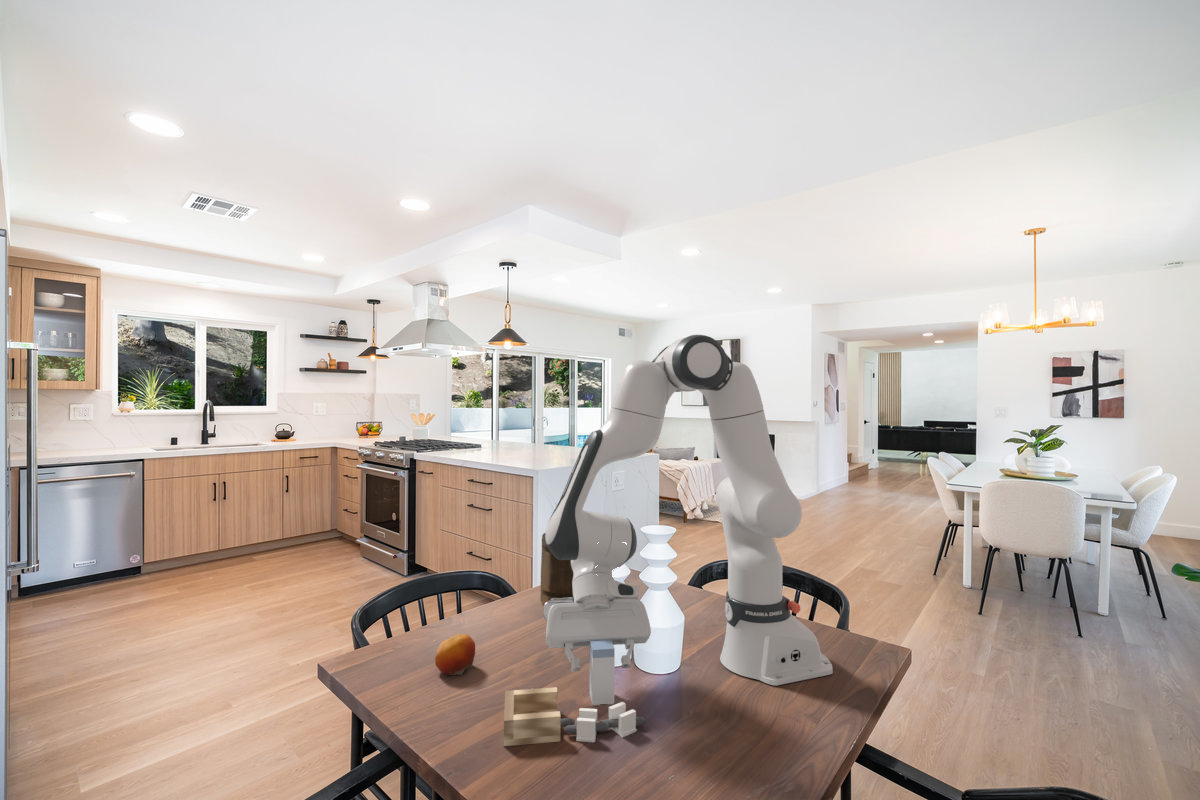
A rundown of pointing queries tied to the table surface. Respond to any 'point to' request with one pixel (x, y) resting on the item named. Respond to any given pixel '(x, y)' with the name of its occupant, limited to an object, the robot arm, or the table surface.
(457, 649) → the fruit
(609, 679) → the block
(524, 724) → the end holder
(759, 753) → the table surface
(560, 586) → the wooden container
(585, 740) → the clip
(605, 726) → the cable
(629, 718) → the clip
